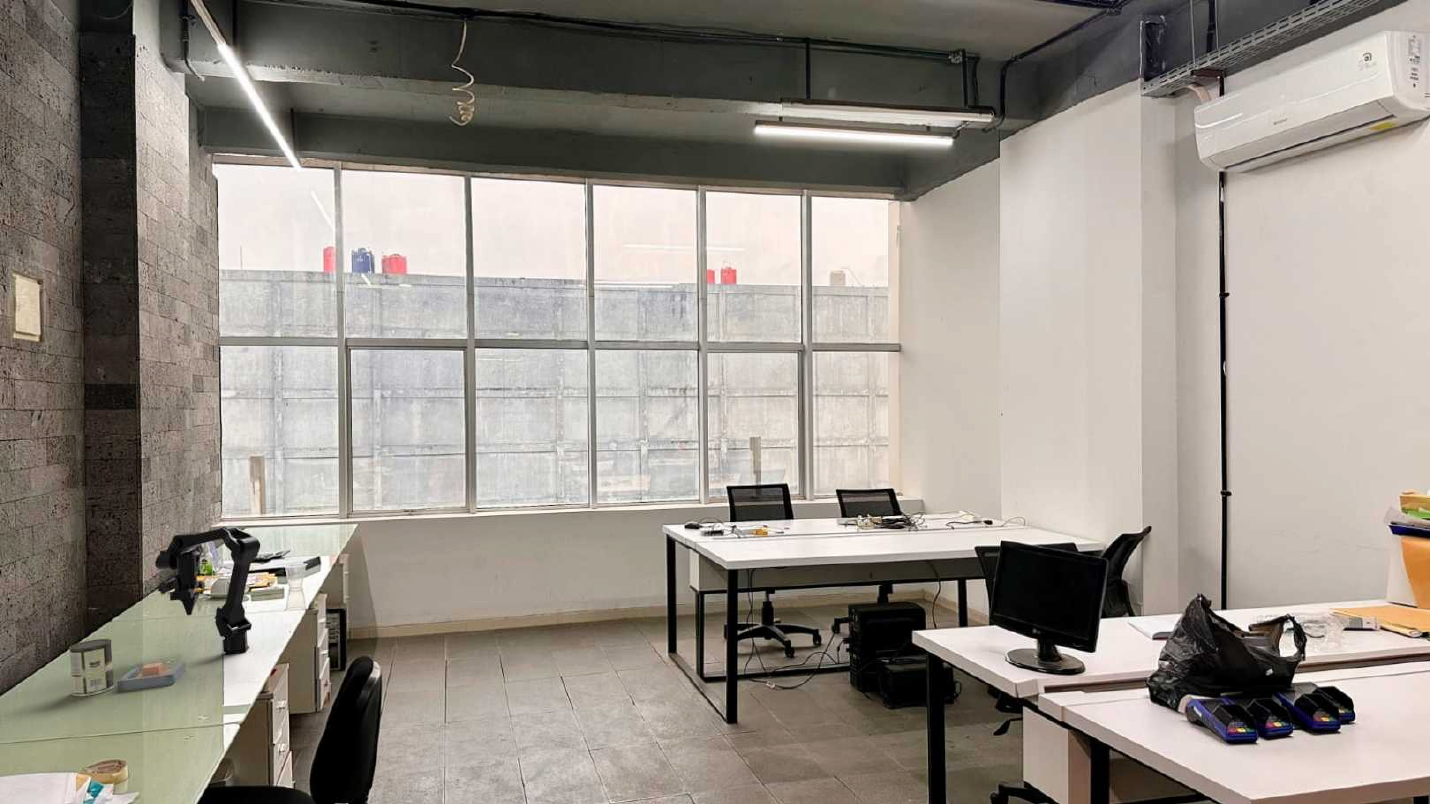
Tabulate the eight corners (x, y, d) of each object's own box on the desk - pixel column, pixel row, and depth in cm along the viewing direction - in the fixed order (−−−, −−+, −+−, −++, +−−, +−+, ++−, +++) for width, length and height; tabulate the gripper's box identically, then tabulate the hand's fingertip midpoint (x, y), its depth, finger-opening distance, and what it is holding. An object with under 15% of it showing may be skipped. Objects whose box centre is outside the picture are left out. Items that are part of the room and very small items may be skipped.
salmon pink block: (163, 671, 269) (162, 662, 269) (159, 676, 265) (158, 666, 265) (147, 673, 268) (146, 664, 268) (142, 678, 263) (141, 668, 263)
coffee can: (98, 683, 266) (95, 637, 266) (122, 685, 263) (119, 639, 263) (63, 695, 257) (60, 647, 257) (88, 697, 253) (85, 649, 253)
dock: (185, 670, 275) (185, 661, 275) (173, 684, 262) (172, 674, 262) (134, 677, 271) (133, 667, 271) (118, 691, 258) (117, 681, 258)
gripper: (168, 567, 305) (170, 611, 306) (150, 577, 288) (153, 624, 288) (203, 564, 309) (206, 607, 309) (189, 574, 291) (191, 620, 291)
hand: (189, 615), depth 299 cm, fingers closed
